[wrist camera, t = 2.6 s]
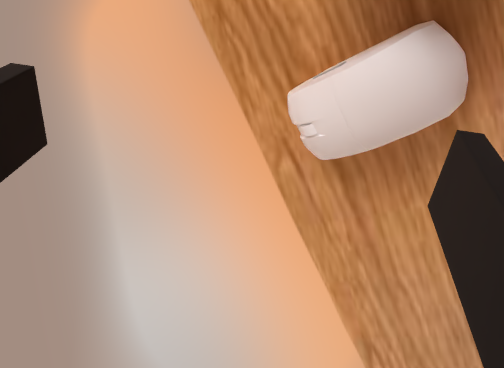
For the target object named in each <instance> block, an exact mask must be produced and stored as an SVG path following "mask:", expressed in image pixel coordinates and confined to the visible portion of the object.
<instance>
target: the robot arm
mask: <svg viewBox="0 0 504 368" xmlns="http://www.w3.org/2000/svg"><path fill="white" fill-rule="evenodd" d="M46 145H47V139H46V133H45V127H44V121H43V116H42V110H41V104H40V99H39V92H38V86H37V81H36V75H35V69H34V66H28V65H20V64H14V63H10V64H8V65H6V66H4V67H2V68H0V182H2V181H3V180H4V179H5V178H7V177H8V176H9V175H10V174H11V173H13V172H14V171H15V170H16V169H18V168H19V167H20V166H21V165H22V164H23V163H25V162H26V161H27V160H29V159H30V158H31V157H32V156H33V155H35V154H36V153H37V152H38V151H39V150H41V149H42V148H43V147H44V146H46ZM428 208H429V211H430V214H431V217H432V220H433V223H434V226H435V229H436V231H437V234H438V237H439V240H440V243H441V246H442V249H443V252H444V254H445V257H446V260H447V263H448V266H449V269H450V272H451V275H452V278H453V280H454V283H455V286H456V289H457V292H458V295H459V298H460V301H461V304H462V306H463V309H464V312H465V315H466V318H467V321H468V324H469V327H470V329H471V332H472V335H473V338H474V341H475V344H476V347H477V350H478V353H479V355H480V358H481V361H482V364H483V367H484V368H504V161H503V160H502V159H501V157H500V156H499V154H498V153H497V152H496V150H495V149H494V148H493V146H492V145H491V143H490V142H489V141H488V139H487V138H486V136H485V135H484V134H481V133H474V132H467V131H461V130H457V132H456V134H455V137H454V140H453V142H452V145H451V147H450V150H449V152H448V155H447V158H446V160H445V163H444V165H443V168H442V170H441V173H440V176H439V178H438V181H437V183H436V186H435V188H434V191H433V194H432V196H431V199H430V201H429V204H428Z"/></svg>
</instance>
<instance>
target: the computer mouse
mask: <svg viewBox="0 0 504 368" xmlns="http://www.w3.org/2000/svg"><path fill="white" fill-rule="evenodd" d="M467 84H468V72H467V65H466V56H465V52H464V51H463V49H462V48H461V46H460V45H459V44H458V43H457V42H456V40H455V39H454V38H453V37H452V36H451V35H450V34H449V33H448V32H447V31H446V30H444V29H443V28H442V27H441V26H440V25H439V24H437V23H436V22H435V21H434V20H433V21H429V22H425V23H421V24H417V25H414V26H412V27H410V28H408V29H406V30H404V31H402V32H400V33H398V34H396V35H394V36H392V37H390V38H388V39H386V40H384V41H382V42H380V43H378V44H376V45H374V46H372V47H370V48H368V49H366V50H364V51H362V52H360V53H358V54H356V55H354V56H352V57H350V58H348V59H346V60H344V61H342V62H340V63H338V64H337V65H335V66H333V67H331V68H329V69H327V70H325V71H323V72H321V73H320V74H318V75H316V76H314V77H313V78H311V79H309V80H307V81H305V82H303V83H302V84H300V85H299V86H297V87H295V88H294V89H292V90H291V91H290V92H289V93H288V113H289V116H290V118H291V120H292V123H293V124H295V125H297V127H298V129H299V131H300V133H301V136H300V138H301V140H302V142H303V143H304V145H305V147H306V148H307V149H308V150H309V151H310V152H312V153H313V154H314V155H315V156H316V157H317V158H319V159H321V160H329V159H336V158H342V157H346V156H351V155H355V154H359V153H362V152H366V151H369V150H372V149H375V148H378V147H380V146H383V145H385V144H388V143H390V142H393V141H395V140H398V139H400V138H403V137H405V136H408V135H411V134H413V133H416V132H418V131H420V130H422V129H424V128H426V127H428V126H430V125H432V124H434V123H436V122H438V121H440V120H442V119H444V118H446V117H448V116H450V115H451V114H452V113H453V112H454V111H455V110H456V109H457V108H458V107H459V106H460V105H461V104H462V102H463V101H464V100H465V95H466V89H467Z"/></svg>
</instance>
